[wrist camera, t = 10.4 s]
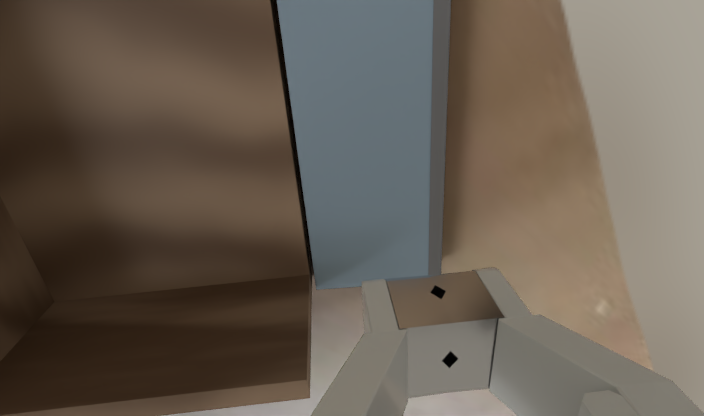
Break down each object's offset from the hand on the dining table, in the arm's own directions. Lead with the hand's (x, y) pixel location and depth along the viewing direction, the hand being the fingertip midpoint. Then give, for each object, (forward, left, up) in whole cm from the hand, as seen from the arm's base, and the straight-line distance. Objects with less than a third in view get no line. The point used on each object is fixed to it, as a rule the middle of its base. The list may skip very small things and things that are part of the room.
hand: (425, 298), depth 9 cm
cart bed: (0, +12, -15) cm, 20 cm away
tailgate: (0, +4, -14) cm, 14 cm away
